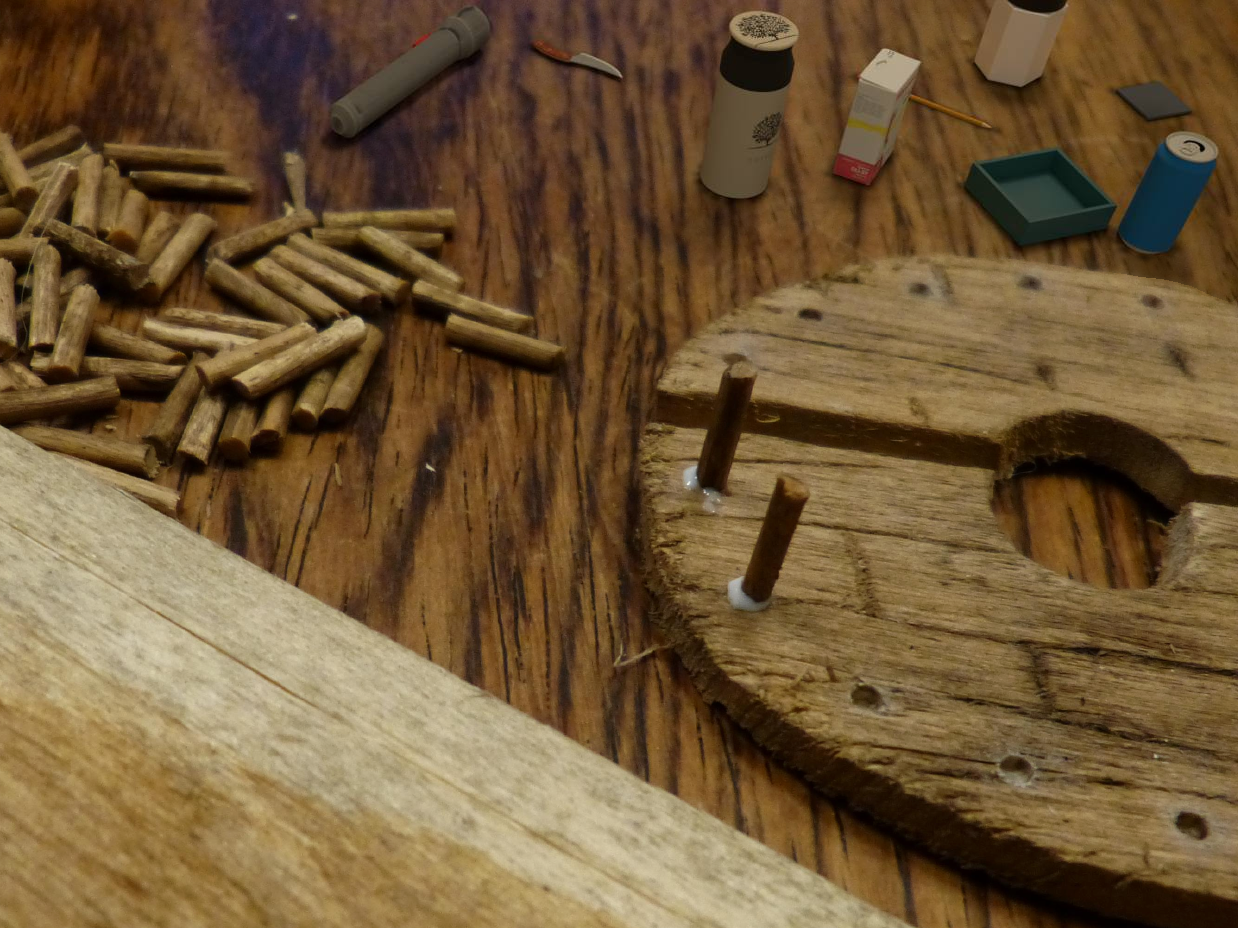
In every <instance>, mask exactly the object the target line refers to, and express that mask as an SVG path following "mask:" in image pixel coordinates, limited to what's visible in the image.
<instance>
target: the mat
mask: <svg viewBox="0 0 1238 928" xmlns="http://www.w3.org/2000/svg"><path fill="white" fill-rule="evenodd" d="M1115 93H1116V94H1117V95H1119V96H1120V98H1122V99H1123V100H1124V101H1125V103H1127V104H1128V105H1129V106H1131V107H1132V108H1133V109H1134V110H1135V111H1136V112H1137V113H1138V114H1139V115H1140V116H1142V117H1143V118H1144V119H1145V120H1146V121H1153V120H1159V119H1164V118H1171V117H1176V116H1182V115H1187V114H1192V111H1193V109H1192V108H1190V107H1189V106H1188V105H1187V104H1186V102H1184V101H1182V100H1181V99H1180V98H1179V97H1178V96H1177V95H1176V94H1174V93H1173V92H1172V91H1171V90H1170V89H1168V87H1167V86H1165V85H1164V84H1163V83H1162V82H1161V81H1157V82H1151V83H1144V84H1138V85H1133V86H1127V87H1121V88H1116V90H1115Z"/></svg>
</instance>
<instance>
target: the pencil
mask: <svg viewBox="0 0 1238 928" xmlns="http://www.w3.org/2000/svg"><path fill="white" fill-rule="evenodd" d="M860 74H861V73H859V74H858V75H857V77H856V78H857V79H858V80H859V79H860ZM908 100H912V101H914V102H916V103H919V104H922V105H924V106H927V107H929V108H931V109H935V110H937V111H940V112H941V113H944V114H947V115H950V116H952V117H955V118H957V119H960V120H963V121H964V122H967V123H971V124H973V125H975V126H977V127H981V128H984V129H985V128H986V129H994V128H993V127H992V126H990V125H989V124H987V123H986V122H984V121H983V120H979V119H977V118H975V117H972V116H969V115H967V114H964V113H961V112H958V111H957V110H954V109H951V108H948V107H946V106H943V105H940V104H938V103H935V102H932V101H930V100H927V99H925V98H922V97H920V96H917V95H914V94H912V93H910V96H909V99H908Z"/></svg>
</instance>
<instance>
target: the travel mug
mask: <svg viewBox="0 0 1238 928" xmlns="http://www.w3.org/2000/svg"><path fill="white" fill-rule="evenodd" d="M728 30H729V34H730V41H728V42H727V44H726V45H725V46H724V48H723V50H722V52H721V57H720V62H719V68H718V75H717V79H716V85H715V89H714V90H715V91H714V97H713V101H712V107H711V111H710V112H711V113H710V117H709V123H708V128H707V129H708V130H707V133H706V134H707V135H706V141H705V145H704V152H703V156H702V161H701V168H700V180H701V182H702V184H703V185H704V186H705V187H706V188H707V189H709V190H710V191H711V192H713V193H715V194H717V195H720V196H721V197H722V196H723V197H726V198H731V199H747V198H748V199H749V198H753V197H755V196H756V197H757V196H759V195H760V194H761V193H763V192H764V191H765V190H766V189H767V186H768V182H769V178H770V174H771V171H772V166H773V162H774V161H773V160H774V156H775V152H776V148H777V144H778V139H779V134H780V130H781V126H782V122H783V118H784V113H785V109H786V105H787V100H788V96H789V91H790V87H791V82H792V77H793V75H794V74H793V73H794V71H795V70H794V69H795V66H796V63H795V58H794V53H793V48H794V45H795V44H797V42H798V41H799V38H800V32H799V29H798V27H797V25H796V24H794V22H793V21H792V20H790V19H788V18H787V17H785V16H783V15H780V14H777V13H774V12H769V11H764V10H763V11H762V10H754V11H753V10H752V11H746V12H742V13H739V14H737V15H735V16H734V17H733V18H732V19H731V20H730V21H729V25H728Z"/></svg>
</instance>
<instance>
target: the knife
mask: <svg viewBox="0 0 1238 928" xmlns="http://www.w3.org/2000/svg"><path fill="white" fill-rule="evenodd" d="M532 46H533V48H535V50H537V51H538V52H539V53H542V54H543V55H544V56H547V57H550V58H551V59H555V60H557V61H560V62H563V63H567V64H568V63H569V64H570V63H573V64H574V63H575V64H578V65H583V66H586V67H589V68H594V69H596V70H599V71H603V72H605V73H608V74H610V75H613V76H615V77H618V78H621V79H624V78H623V75H622V74H621V72H620V71H619V69H617V68H616V67H615V66H613V65H612V64H610V63H609V62H606V61H604V60H602V59H600V58H598V57H596V56H593V55H590V54H588V53H585V52H580V53H579V54H576V55H573V54H572V53H568V52H565V51H562V50H559V49H557V48H554V47H553V46H551V45H550V44H549V43H547V42H546V41H545V40H543V39H538V40H534V41H532Z"/></svg>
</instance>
